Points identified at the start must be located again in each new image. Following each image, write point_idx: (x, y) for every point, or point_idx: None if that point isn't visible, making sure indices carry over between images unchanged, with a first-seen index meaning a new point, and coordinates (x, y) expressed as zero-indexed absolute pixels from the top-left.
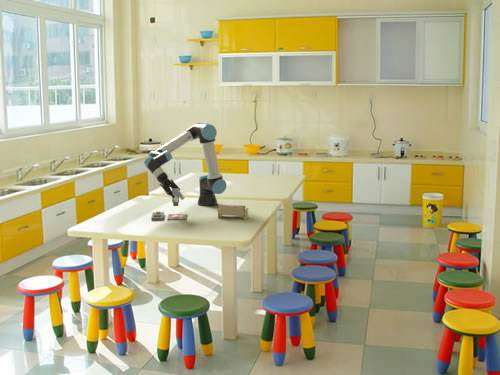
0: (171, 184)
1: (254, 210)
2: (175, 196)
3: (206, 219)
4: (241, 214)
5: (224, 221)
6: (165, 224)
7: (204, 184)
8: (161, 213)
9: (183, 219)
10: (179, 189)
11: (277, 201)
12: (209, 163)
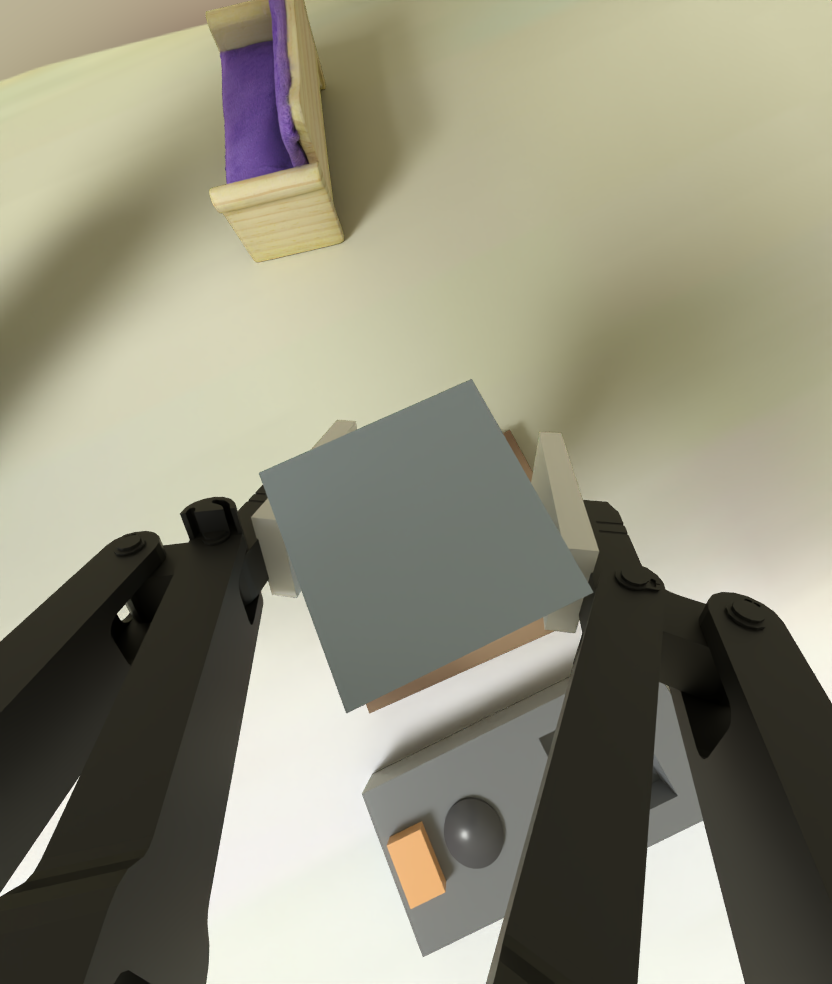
0: (137, 902)
1: (44, 152)
2: (575, 483)
3: (408, 300)
4: (314, 56)
5: (430, 159)
6: (759, 546)
7: None
8: (443, 789)
9: (520, 455)
10: (214, 509)
11: None
12: None
